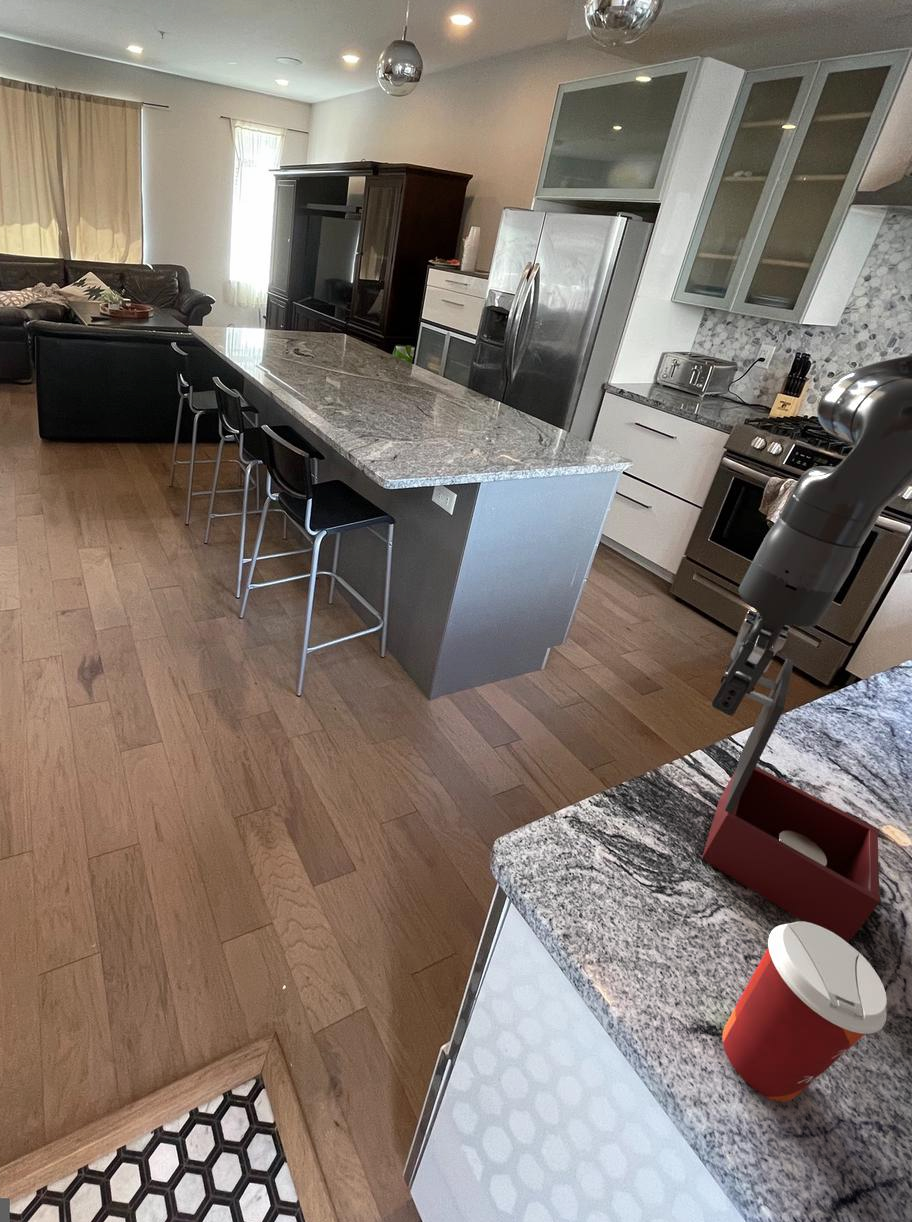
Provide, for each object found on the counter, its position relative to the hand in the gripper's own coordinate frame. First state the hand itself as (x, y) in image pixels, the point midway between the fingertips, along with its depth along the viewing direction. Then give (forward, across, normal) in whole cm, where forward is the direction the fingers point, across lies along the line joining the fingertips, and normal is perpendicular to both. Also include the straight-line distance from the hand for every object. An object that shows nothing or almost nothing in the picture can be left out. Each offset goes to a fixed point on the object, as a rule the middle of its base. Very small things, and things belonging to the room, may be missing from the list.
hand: (726, 697), depth 71 cm
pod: (+17, 0, +13) cm, 21 cm away
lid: (+2, 0, +5) cm, 5 cm away
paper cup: (+18, +24, +13) cm, 32 cm away
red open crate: (+18, 0, +12) cm, 21 cm away
